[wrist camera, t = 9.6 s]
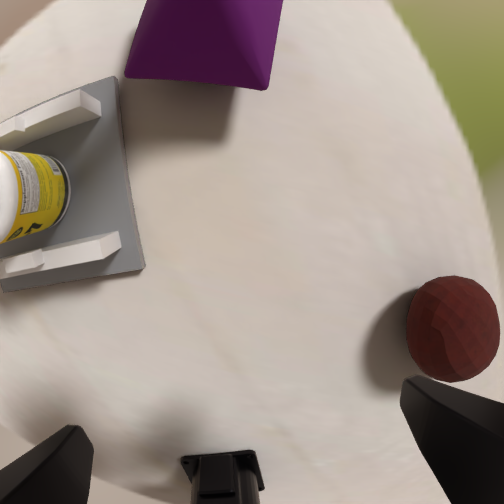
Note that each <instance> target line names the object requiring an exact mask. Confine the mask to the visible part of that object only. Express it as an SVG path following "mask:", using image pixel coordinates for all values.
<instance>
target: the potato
mask: <svg viewBox="0 0 504 504" xmlns="http://www.w3.org/2000/svg"><path fill="white" fill-rule="evenodd" d="M406 337H407V343H408V348H409V351H410V353H411V356H412V358H413V359H414V361H415V362H416V364H417V365H418V367H419V368H420V369H421V370H422V371H423V372H424V373H425V374H427V375H429V376H430V377H432V378H434V379H436V380H440V381H445V382H449V383H452V382H459V381H465V380H468V379H471V378H473V377H474V376H476V375H478V374H480V373H481V372H482V371H483V370H484V369H486V368H487V367H488V366H489V365H490V363H491V362H492V360H493V359H494V357H495V355H496V353H497V350H498V347H499V341H500V324H499V318H498V313H497V309H496V305H495V303H494V301H493V300H492V298H491V296H490V294H489V293H488V292H487V291H486V290H485V289H484V288H483V287H482V286H481V285H480V284H478V283H477V282H475V281H474V280H472V279H468V278H464V277H459V276H445V277H438V278H436V279H433V280H431V281H429V282H426V283H425V284H424V285H423V286H422V287H420V288H419V289H418V290H417V292H416V294H415V296H414V297H413V299H412V302H411V305H410V308H409V311H408V316H407V328H406Z"/></svg>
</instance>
